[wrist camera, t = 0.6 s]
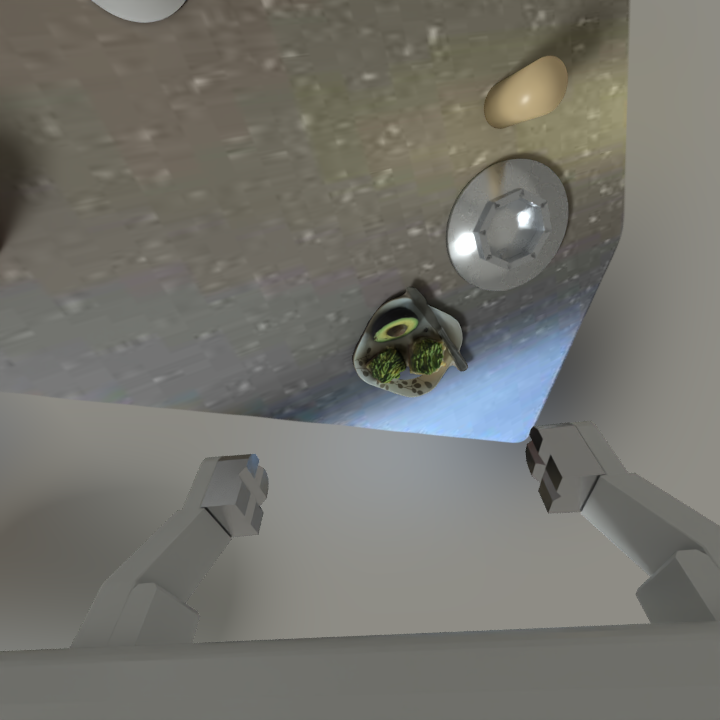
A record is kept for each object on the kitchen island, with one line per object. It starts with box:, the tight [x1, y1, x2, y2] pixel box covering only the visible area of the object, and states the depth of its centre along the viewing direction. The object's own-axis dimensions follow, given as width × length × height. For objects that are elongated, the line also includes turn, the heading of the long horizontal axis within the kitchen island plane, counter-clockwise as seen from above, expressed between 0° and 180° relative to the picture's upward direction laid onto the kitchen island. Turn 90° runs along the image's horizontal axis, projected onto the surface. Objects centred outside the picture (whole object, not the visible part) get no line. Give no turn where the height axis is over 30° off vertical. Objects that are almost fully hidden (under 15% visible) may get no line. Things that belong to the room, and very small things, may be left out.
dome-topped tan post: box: [484, 56, 568, 129], centre depth 40 cm, size 5×5×9 cm
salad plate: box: [352, 287, 468, 397], centre depth 56 cm, size 19×18×5 cm
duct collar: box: [446, 159, 568, 291], centre depth 50 cm, size 18×18×3 cm
